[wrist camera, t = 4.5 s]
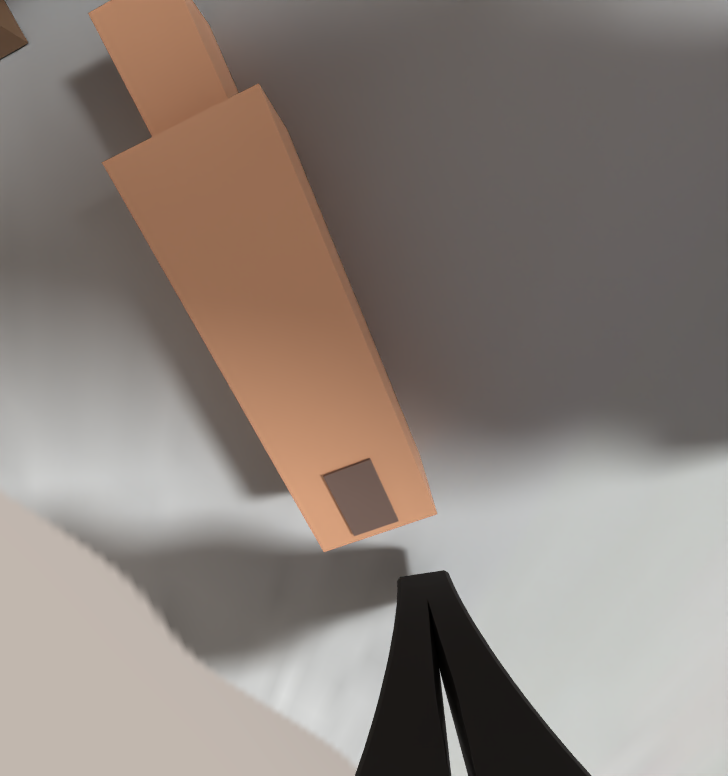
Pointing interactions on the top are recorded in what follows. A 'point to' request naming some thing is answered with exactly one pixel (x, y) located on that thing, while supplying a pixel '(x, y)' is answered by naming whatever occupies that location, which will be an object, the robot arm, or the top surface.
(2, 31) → the notched brown block
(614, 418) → the top surface
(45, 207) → the top surface
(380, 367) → the orange block
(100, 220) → the top surface
